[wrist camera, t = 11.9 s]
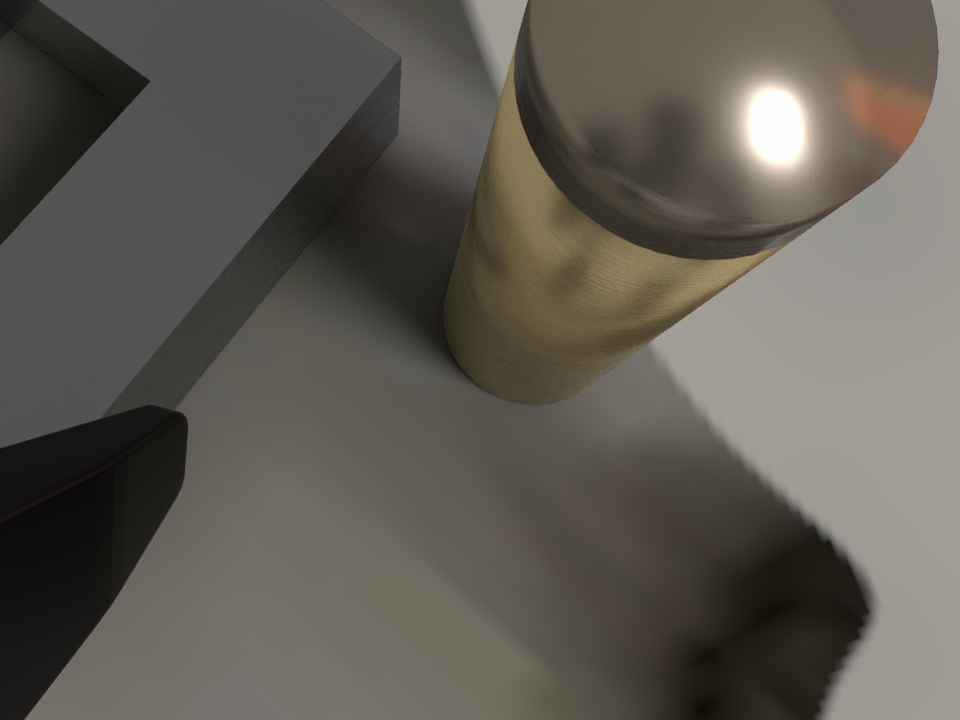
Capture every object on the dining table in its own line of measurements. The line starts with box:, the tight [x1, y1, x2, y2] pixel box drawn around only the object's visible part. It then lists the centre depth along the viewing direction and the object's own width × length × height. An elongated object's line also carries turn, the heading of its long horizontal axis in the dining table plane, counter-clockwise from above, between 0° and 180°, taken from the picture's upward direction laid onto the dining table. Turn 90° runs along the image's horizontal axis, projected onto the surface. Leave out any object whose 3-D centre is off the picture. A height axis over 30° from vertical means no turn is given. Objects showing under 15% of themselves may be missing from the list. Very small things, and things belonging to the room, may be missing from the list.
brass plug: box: [443, 0, 939, 405], centre depth 17 cm, size 5×5×14 cm
